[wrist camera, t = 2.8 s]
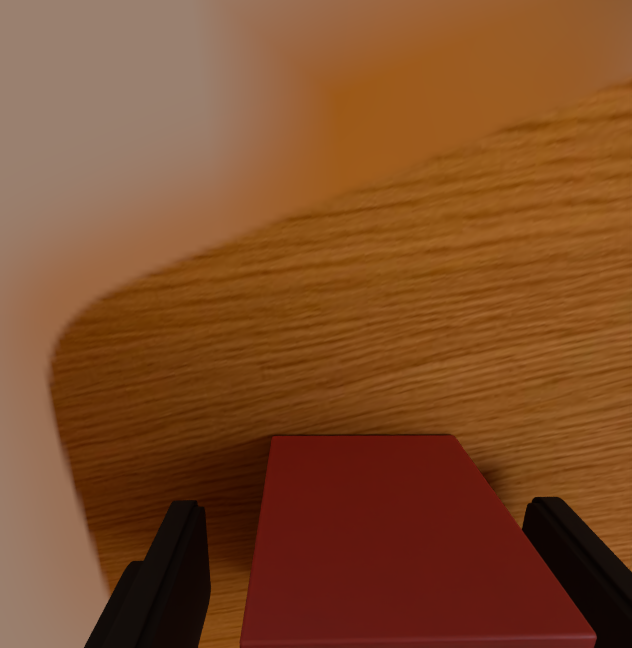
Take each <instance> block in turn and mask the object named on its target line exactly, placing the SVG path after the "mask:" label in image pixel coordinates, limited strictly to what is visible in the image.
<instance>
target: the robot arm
mask: <svg viewBox="0 0 632 648" xmlns="http://www.w3.org/2000/svg"><path fill="white" fill-rule="evenodd" d="M522 531H523V532H524V534H525V535H526V537H527V538H528V539H529V541H530V542H531V544H532V545H533V546H534V548H535V549H536V551H537V552H538V553H539V555H540V556H541V558H542V559H543V560H544V562H545V563H546V565H547V566H548V567H549V569H550V570H551V572H552V573H553V574H554V576H555V577H556V579H557V580H558V581H559V583H560V584H561V586H562V587H563V588H564V590H565V591H566V593H567V594H568V595H569V597H570V598H571V600H572V601H573V602H574V604H575V605H576V606H577V608H578V609H579V611H580V612H581V613H582V615H583V616H584V618H585V619H586V620H587V622H588V623H589V625H590V626H591V627H592V629H593V630H594V632H595V633H596V636H597V639H596V642H595V646H594V648H632V572H631V571H630V570H629V569H628V568H627V567H626V566H625V565H624V564H623V563H622V562H621V560H620V559H619V558H618V557H617V556H616V555H615V554H614V553H613V552H612V551H611V550H610V549H609V548H608V547H607V546H606V545H605V544H604V543H603V541H602V540H601V539H600V538H599V537H598V536H597V535H596V534H595V533H594V532H593V531H592V530H591V529H590V528H589V527H588V526H587V525H586V524H585V523H584V521H583V520H582V519H581V518H580V517H579V516H578V515H577V514H576V513H575V512H574V511H573V510H572V509H571V508H570V507H569V506H568V505H567V504H566V503H565V501H563V500H562V499H561V498H559V497H535V498H534V499H533V500H532V503H529V504H528V505H527V508H526V512H525V517H524V522H523V527H522ZM210 592H211V582H210V570H209V557H208V544H207V532H206V519H205V509H204V507H198V503H197V501H196V500H183V501H173V502H172V503H171V505H170V507H169V509H168V511H167V513H166V515H165V518H164V520H163V522H162V524H161V526H160V528H159V530H158V532H157V534H156V536H155V538H154V540H153V542H152V545H151V547H150V549H149V551H148V553H147V555H146V557H145V559H144V561H132V562H131V563H130V564H129V565H128V566H127V567H126V569H125V571H124V572H123V574H122V576H121V578H120V580H119V582H118V584H117V585H116V587H115V589H114V591H113V593H112V595H111V597H110V599H109V601H108V603H107V605H106V606H105V609H104V610H103V612H102V614H101V616H100V618H99V620H98V622H97V624H96V626H95V628H94V629H93V631H92V633H91V635H90V637H89V639H88V641H87V643H86V645H85V647H84V648H198V644H199V640H200V636H201V632H202V629H203V625H204V621H205V617H206V613H207V609H208V605H209V600H210Z"/></svg>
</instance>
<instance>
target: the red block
mask: <svg viewBox="0 0 632 648" xmlns="http://www.w3.org/2000/svg"><path fill="white" fill-rule="evenodd" d="M596 639H597V636H596V633H595V632H594V630H593V629H592V627H591V626H590V625H589V623H588V622H587V620H586V619H585V618H584V616H583V615H582V613H581V612H580V611H579V609H578V608H577V606H576V605H575V604H574V602H573V601H572V600H571V598H570V597H569V595H568V594H567V593H566V591H565V590H564V588H563V587H562V586H561V584H560V583H559V581H558V580H557V579H556V577H555V576H554V574H553V573H552V572H551V570H550V569H549V567H548V566H547V565H546V563H545V562H544V560H543V559H542V558H541V556H540V555H539V553H538V552H537V551H536V549H535V548H534V546H533V545H532V544H531V542H530V541H529V539H528V538H527V537H526V535H525V534H524V532H523V531H522V530H521V528H520V527H519V525H518V524H517V523H516V521H515V520H514V519H513V517H512V516H511V514H510V513H509V512H508V510H507V509H506V507H505V506H504V505H503V503H502V502H501V500H500V499H499V498H498V496H497V495H496V493H495V492H494V491H493V489H492V488H491V486H490V485H489V484H488V482H487V481H486V479H485V478H484V477H483V475H482V474H481V472H480V471H479V470H478V468H477V467H476V465H475V464H474V463H473V461H472V460H471V458H470V457H469V456H468V454H467V453H466V451H465V450H464V449H463V447H462V446H461V445H460V443H459V442H458V440H457V439H456V438H455V436H453V435H396V436H272V439H271V445H270V452H269V458H268V464H267V471H266V477H265V484H264V490H263V497H262V503H261V509H260V516H259V522H258V529H257V535H256V541H255V548H254V554H253V561H252V567H251V573H250V580H249V586H248V593H247V599H246V606H245V612H244V618H243V625H242V631H241V638H240V648H594V646H595V642H596Z"/></svg>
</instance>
